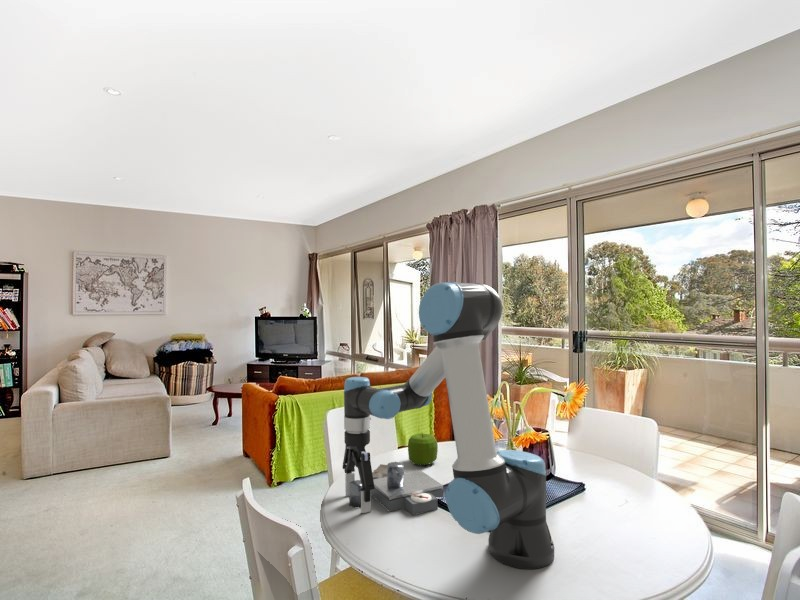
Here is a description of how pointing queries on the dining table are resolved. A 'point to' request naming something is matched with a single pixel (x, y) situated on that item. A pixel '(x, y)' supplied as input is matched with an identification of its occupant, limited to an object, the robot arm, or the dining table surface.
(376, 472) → the stone
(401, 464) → the cylinder
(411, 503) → the scale
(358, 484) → the cylinder
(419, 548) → the dining table surface
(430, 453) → the apple
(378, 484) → the platform
